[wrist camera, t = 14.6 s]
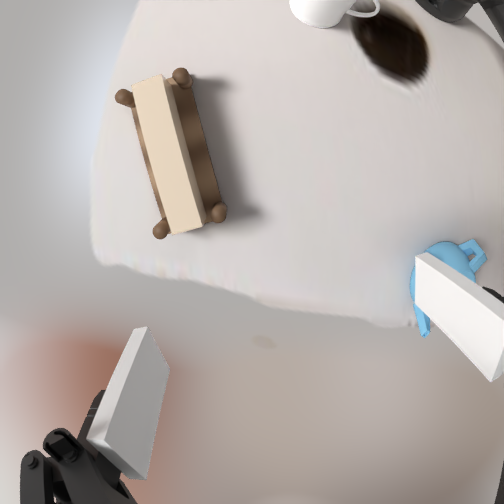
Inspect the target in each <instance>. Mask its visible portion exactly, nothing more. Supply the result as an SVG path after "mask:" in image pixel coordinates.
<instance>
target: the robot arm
mask: <svg viewBox="0 0 504 504" xmlns="http://www.w3.org/2000/svg"><path fill="white" fill-rule="evenodd" d="M416 1H417V2H418V3H419V4H420V5H421V6H422V7H423V8H424V9H425V10H426V11H427V12H429V13H430V14H432V15H433V16H435V17H436V18H438V19H440V20H443V21H446V22H455V21H457V20H460V19H462V18H463V17H464V16H465V14H466V13H467V12H468V10H469V9H470V8H471V7H472V6H473V4H475V3H477V2H479V3H480V5H481V6H482V7H483V9H484V11H485V12H486V14H487V15H488V17H489V18H490V20H491V21H492V23H493V25H494V26H495V28H496V30H497V31H498V33H499V35H500V36H501V38H502V40H503V42H504V0H416ZM415 304H416V305H417V306H418V307H419V308H420V309H421V310H422V311H423V312H424V313H425V314H426V315H427V316H428V317H429V318H430V319H431V320H432V321H433V322H434V323H435V324H436V325H437V326H438V327H439V328H440V329H441V330H442V331H443V332H444V333H445V334H446V335H447V336H448V337H449V338H450V339H451V340H452V341H453V342H454V343H455V344H456V345H457V346H458V347H459V349H460V350H461V351H462V352H463V353H464V354H465V355H466V356H467V357H468V358H469V359H470V360H471V361H472V362H473V363H474V365H475V366H476V367H477V368H478V369H479V370H480V371H481V372H482V373H483V375H485V377H486V378H487V379H488V380H489V381H490V382H492V381H494V380H495V379H496V378H498V377H499V376H500V375H502V374H503V372H504V297H501V295H500V294H498V293H497V292H496V291H494V290H492V289H489V288H486V287H482V288H481V287H480V286H479V285H477V284H476V283H474V282H473V281H471V280H470V279H468V278H467V277H465V276H464V275H462V274H461V273H459V272H458V271H456V270H455V269H453V268H452V267H450V266H449V265H447V264H445V263H444V262H442V261H441V260H439V259H438V258H436V257H434V256H433V255H431V254H430V253H428V252H426V253H423V254H420V255H417V256H415ZM169 371H170V368H169V366H168V364H167V363H166V361H165V359H164V357H163V355H162V353H161V352H160V350H159V348H158V346H157V344H156V342H155V340H154V338H153V336H152V334H151V332H150V330H149V328H148V326H147V327H142V328H137V329H134V330H133V333H132V335H131V337H130V339H129V341H128V343H127V345H126V347H125V349H124V351H123V353H122V356H121V358H120V360H119V362H118V364H117V367H116V369H115V371H114V373H113V375H112V378H111V380H110V382H109V384H108V387H107V389H106V390H101V391H100V392H99V394H98V395H97V396H96V397H95V398H94V400H93V402H92V405H91V407H90V410H89V411H88V414H87V417H86V418H85V421H84V423H83V425H82V428H81V430H80V433H79V435H78V438H77V439H76V438H75V437H74V436H73V435H72V434H71V433H70V432H69V431H68V430H66V429H64V428H58V429H55V430H53V431H51V432H50V433H49V434H48V435H47V436H46V438H45V439H44V442H43V449H44V450H45V451H46V452H47V453H48V454H49V455H50V456H51V457H47V458H46V457H45V456H44V455H43V454H42V453H41V452H40V451H37V450H32V451H30V452H28V453H27V454H26V455H25V456H24V457H23V459H22V462H21V474H20V504H137V503H136V501H135V499H134V498H133V497H132V495H131V493H130V492H129V490H128V489H127V487H126V486H125V484H124V483H123V482H122V481H121V480H120V479H119V478H120V474H121V472H122V473H123V474H124V475H125V476H127V477H128V478H129V479H139V480H146V479H147V474H148V469H149V463H150V458H151V453H152V448H153V443H154V438H155V433H156V428H157V424H158V419H159V414H160V410H161V405H162V401H163V396H164V392H165V388H166V383H167V379H168V375H169ZM54 497H56V503H55V502H54ZM495 504H504V463H503V468H502V474H501V479H500V483H499V488H498V492H497V496H496V500H495Z"/></svg>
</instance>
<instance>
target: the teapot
mask: <svg viewBox="0 0 504 504" xmlns="http://www.w3.org/2000/svg"><path fill="white" fill-rule="evenodd" d="M426 252H428V253H430V254H431V255H433V256H434V257H436V258H438V259H439V260H441V261H442V262H444V263H445V264H447V265H449V266H450V267H452V268H453V269H455V270H456V271H458V272H459V273H461V274H462V275H464V276H465V277H467V278H468V279H470V280H471V281H473V282H474V283H476V280H475V274H474V273H475V272H476V271H477V270H478V269H479V267H480V266H481V265H482V264H483V263H484V262H485V261H486V260H487V257H486V255H485V253H484V252H483V250H482V249H481V248H480V247H479V245H478V244H477V243H476V241H475V240H474V239H472V240H470V241H467V242H465V243H463V244H460V245H458V246H457V245H455V244H454V243H451V242H439V243H436V244H434V245H433V246H431V247H430V248H428V249H427V250H426V251H425V252H424V253H426ZM471 254H474V255H475V256H476V257H474V258H473V259H472V260H471V261H470V260H469V259H468V257H467V256H469V255H471ZM410 293H411V297H412V299H413V301H414V304H413V307H414V310H415V314H416V318H417V321H418V325H419V329H420V333H421V336H422V337H424V338H425V337H426V336H427V335H428V334H429V333H430V318H429V317H428V316H427V315H426V314H425V313H424V312H423V311H422V310H421V309H420V308H419V307H418V306H417V305H416V304H415V266H414V268H413V271H412V275H411V279H410Z"/></svg>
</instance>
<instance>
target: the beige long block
mask: <svg viewBox="0 0 504 504" xmlns="http://www.w3.org/2000/svg"><path fill="white" fill-rule="evenodd" d="M131 87H132V92H133V96H134V101H135V105H136V109H137V113H138V118H139V122H140V126H141V130H142V134H143V137H144V141H145V145H146V149H147V153H148V156H149V160H150V163H151V167H152V171H153V174H154V178H155V181H156V184H157V188H158V191H159V195H160V198H161V201H162V204H163V208H164V211H165V214H166V217H167V220H168V223H169V227H170V230H171V233H172V235H175V234H178V233H182V232H185V231H189V230H192V229H196V228H200V227H203V224H204V222H205V219H206V217H207V215H206V212H205V208H204V205H203V202H202V198H201V195H200V191H199V188H198V184H197V180H196V177H195V173H194V170H193V166H192V162H191V159H190V155H189V151H188V148H187V144H186V140H185V137H184V133H183V129H182V125H181V121H180V118H179V114H178V110H177V106H176V102H175V98H174V94H173V90H172V86H171V84H170V83H169V82H168V81H167V79H166V78H165V77H164V76H163V75H162V74H160V75H157V76H154V77H151V78H149V79H146V80H143V81H141V82H138V83H135V84H133V85H131Z"/></svg>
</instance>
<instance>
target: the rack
mask: <svg viewBox="0 0 504 504" xmlns="http://www.w3.org/2000/svg"><path fill="white" fill-rule="evenodd" d="M167 81H168V82H169V83H170V84H171V86H172V90H173V94H174V98H175V102H176V106H177V110H178V114H179V118H180V121H181V125H182V129H183V133H184V137H185V140H186V144H187V148H188V151H189V155H190V159H191V162H192V166H193V170H194V173H195V177H196V180H197V184H198V188H199V191H200V195H201V198H202V202H203V205H204V208H205V212H206V215H207V217H206V219H205V222H204V224H205V223H209V222H212V221H213V222H215V223H221V222H223V221H224V220H225V218H226V212H227V207H226V205H225V204H224V203H223V202H222V200H221V196H220V192H219V189H218V185H217V182H216V178H215V174H214V171H213V167H212V163H211V160H210V156H209V152H208V149H207V145H206V141H205V137H204V134H203V130H202V126H201V122H200V119H199V115H198V111H197V107H196V103H195V100H194V96H193V92H192V88H191V86H192V84H193V80H192V78H191V76H190V75H189V73H188V71H187V70H186V69H185V68H177V69H176V70H175V71H174V72H173V75H172V78H168V79H167ZM115 100H116V102H118V103H120V104H122V105H125V106H128V107H130V108H131V109H132V114H133V118H134V122H135V126H136V130H137V134H138V138H139V142H140V145H141V149H142V153H143V156H144V160H145V164H146V167H147V171H148V174H149V178H150V181H151V184H152V188H153V191H154V194H155V198H156V201H157V204H158V207H159V211H160V214H161V217H162V220H161V221H160V222H159V223H158V224H157V225H156V226H155V227H154V228H153V235H154V236H155V237H156V238H157V239H163V238H165V237H166V236H167V234H170V233H171V230H170V227H169V223H168V220H167V217H166V214H165V211H164V208H163V204H162V201H161V198H160V195H159V191H158V188H157V184H156V181H155V178H154V174H153V171H152V167H151V163H150V160H149V156H148V153H147V149H146V145H145V141H144V137H143V134H142V130H141V126H140V122H139V118H138V113H137V109H136V105H135V101H134V96H133V92H130V91H128V90H126V89H121V90H119V91H118V92H117V93H116V95H115Z"/></svg>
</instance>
